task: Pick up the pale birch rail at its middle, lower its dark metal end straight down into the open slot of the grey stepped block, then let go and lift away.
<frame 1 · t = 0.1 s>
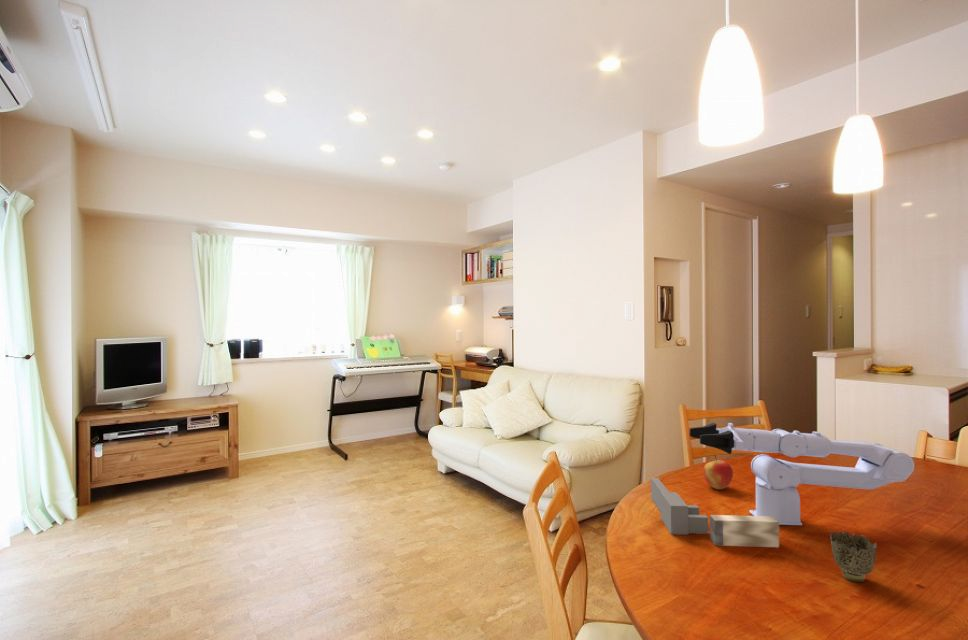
hand: (695, 435, 125), 22 cm above the table, tool horizontal, fingers open, 7 cm apart
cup: (853, 579, 95), on the table
birch rail: (744, 543, 111), on the table
grey stepped block: (692, 526, 119), on the table
apple: (718, 488, 146), on the table
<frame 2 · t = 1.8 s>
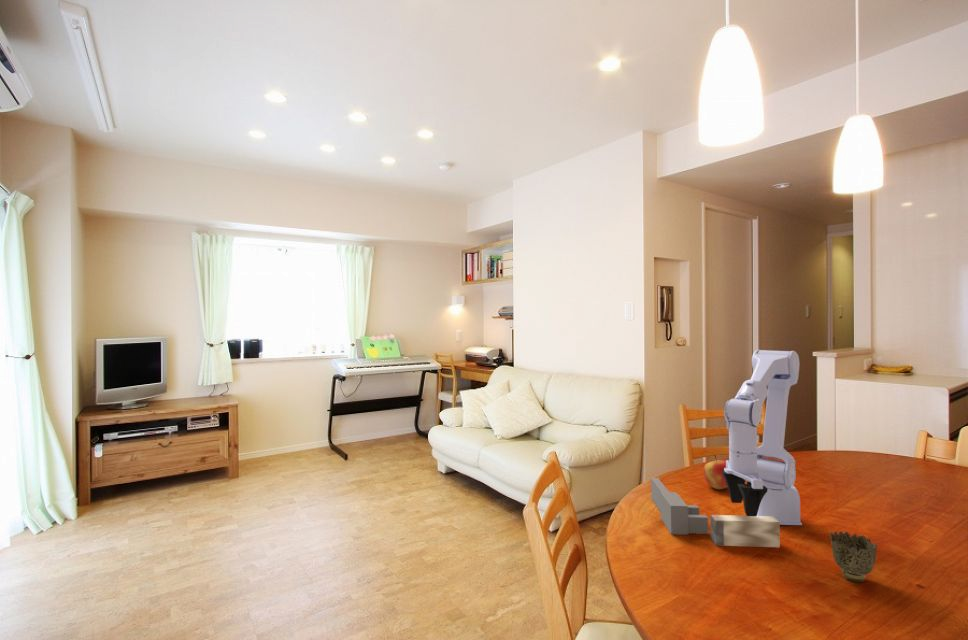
hand: (743, 508, 110), 8 cm above the table, tool pointing down, fingers open, 7 cm apart
nothing on the table moved.
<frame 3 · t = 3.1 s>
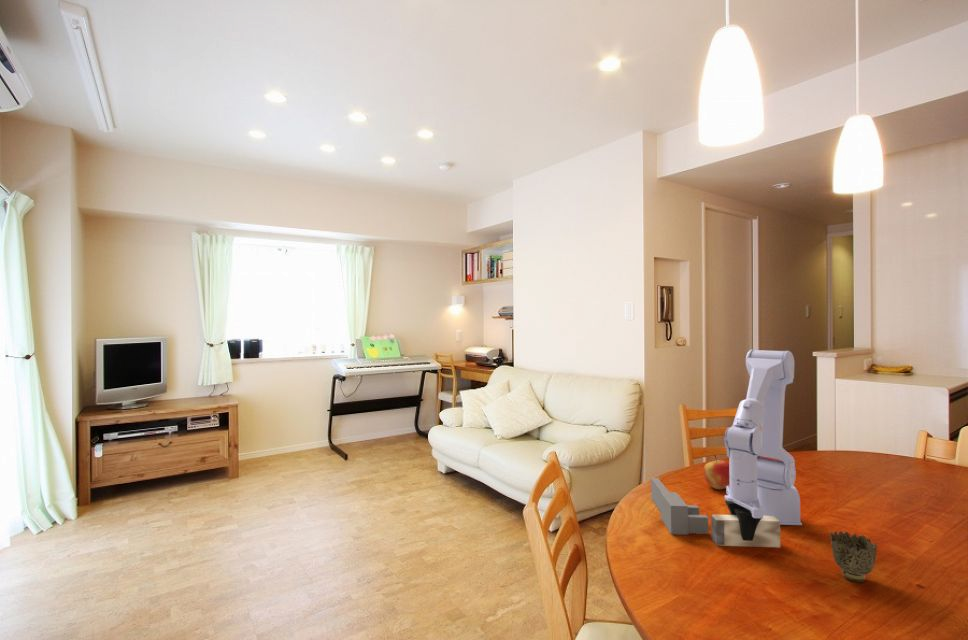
hand: (743, 536, 110), 2 cm above the table, tool pointing down, fingers closed on birch rail, 3 cm apart
birch rail: (745, 543, 110), on the table, touching gripper
everything else where it was.
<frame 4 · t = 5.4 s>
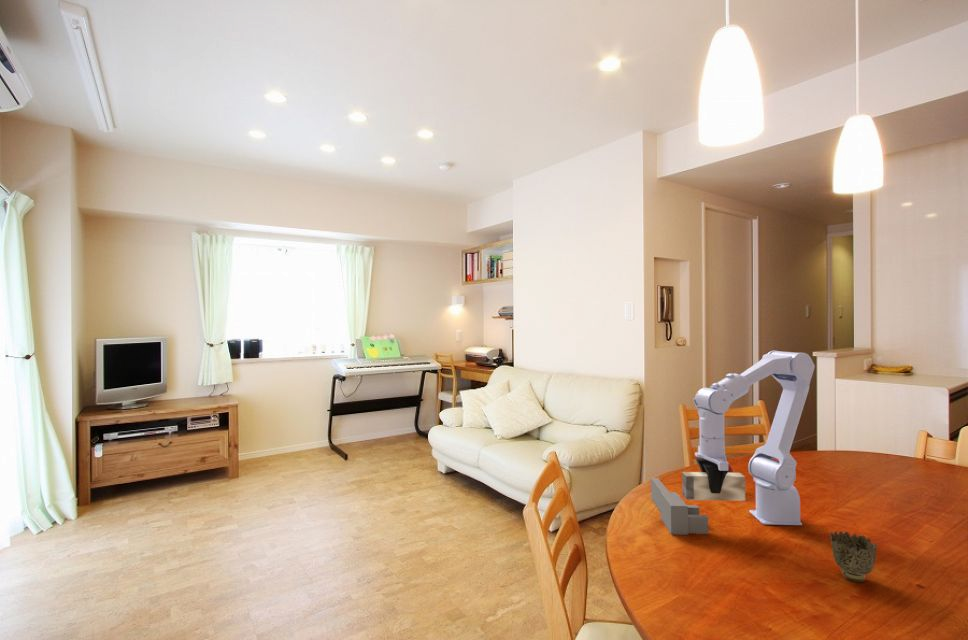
hand: (712, 490, 119), 9 cm above the table, tool pointing down, fingers closed on birch rail, 3 cm apart
birch rail: (713, 498, 119), point 7 cm above the table, touching gripper
everything else where it was.
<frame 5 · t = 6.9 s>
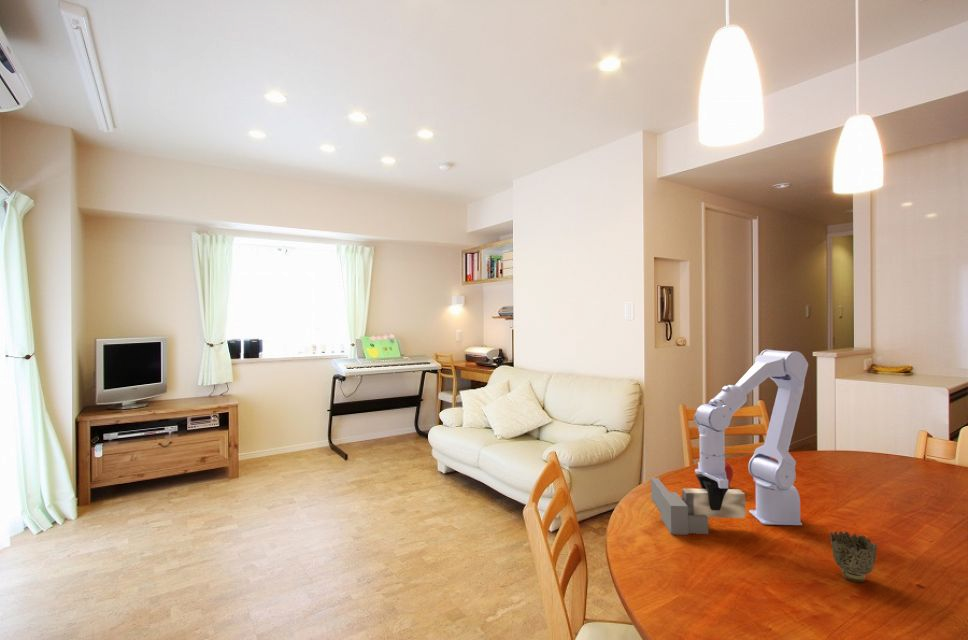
hand: (712, 506, 119), 5 cm above the table, tool pointing down, fingers closed on birch rail, 3 cm apart
birch rail: (713, 514, 119), point 3 cm above the table, touching gripper
everything else where it was.
when the fingers open (2 cm above the table, at t = 7.9 s): birch rail stays where it is, on the table.
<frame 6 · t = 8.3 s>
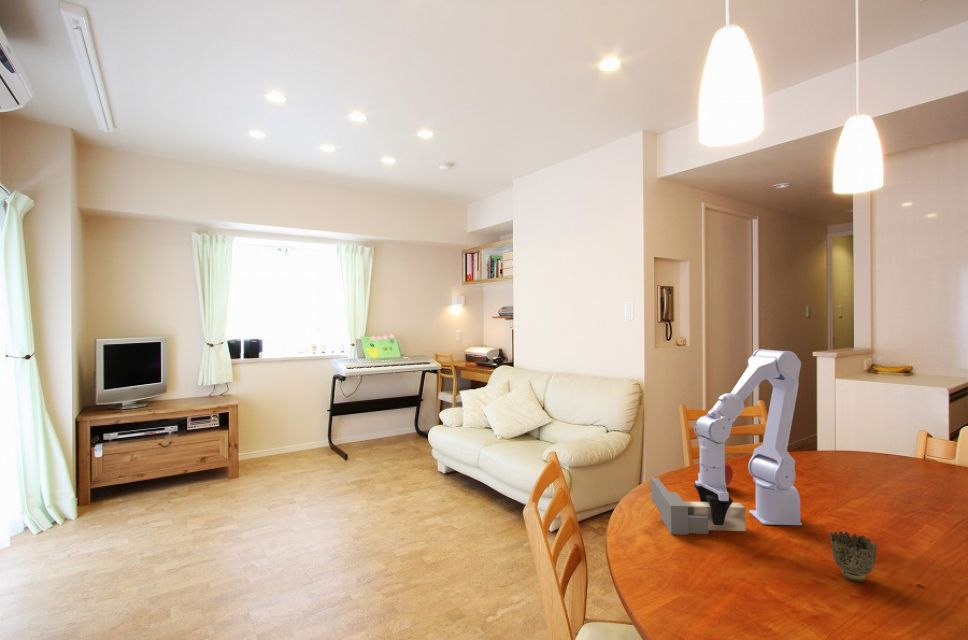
hand: (712, 518, 119), 2 cm above the table, tool pointing down, fingers open, 6 cm apart
birch rail: (713, 528, 119), on the table
everything else where it was.
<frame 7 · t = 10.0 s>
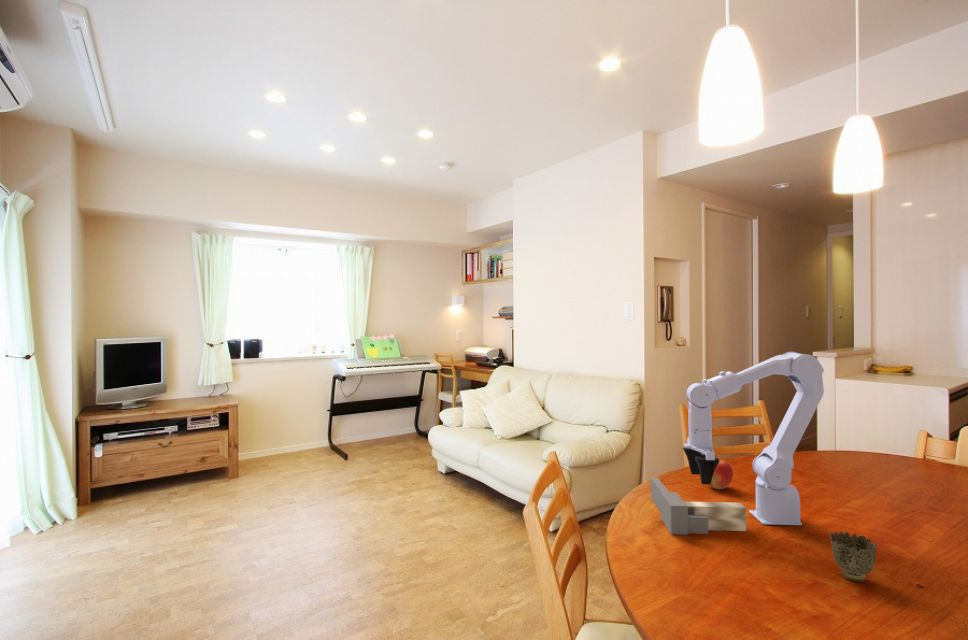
hand: (700, 479, 127), 9 cm above the table, tool pointing down, fingers open, 7 cm apart
nothing on the table moved.
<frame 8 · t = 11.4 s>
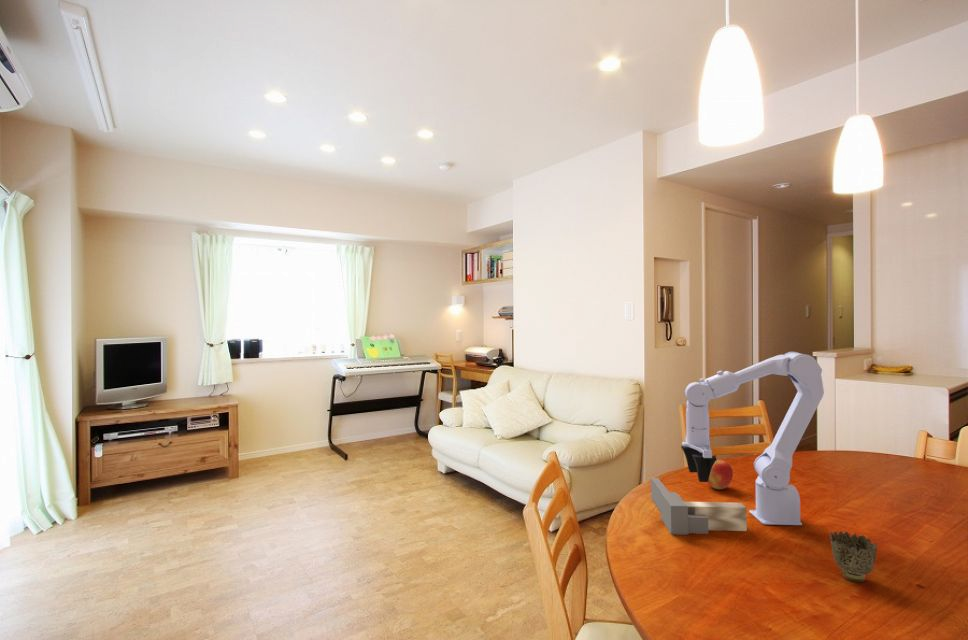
hand: (698, 476, 129), 9 cm above the table, tool pointing down, fingers open, 7 cm apart
nothing on the table moved.
at the end: birch rail 0.3 cm from the target spot on the grey stepped block, point 0.0 cm above the grey stepped block's base; birch rail tilted 0°; the gripper is holding nothing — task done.
